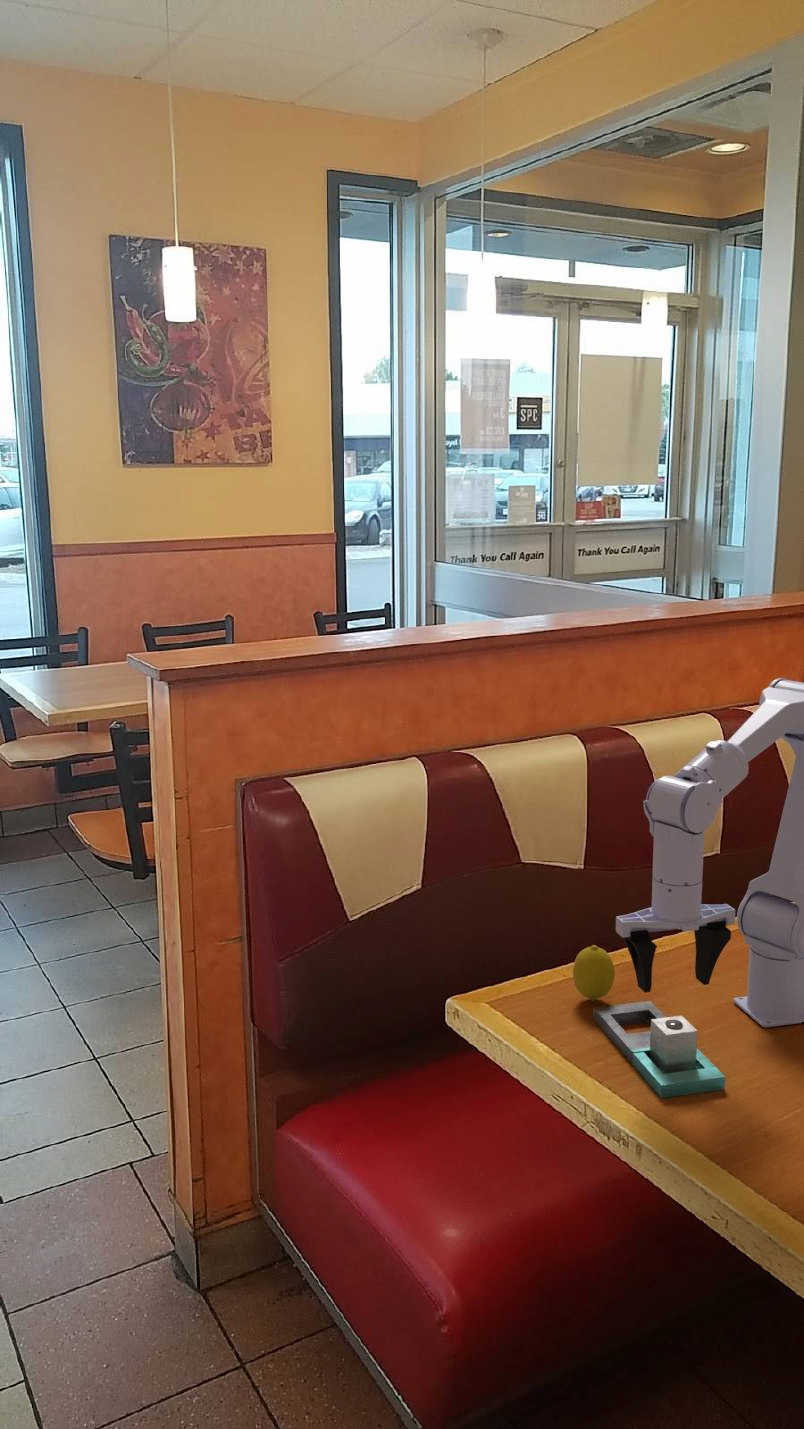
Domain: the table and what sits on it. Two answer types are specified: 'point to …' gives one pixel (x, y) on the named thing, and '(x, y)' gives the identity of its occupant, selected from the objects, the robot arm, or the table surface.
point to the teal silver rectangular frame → (639, 1052)
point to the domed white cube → (673, 1044)
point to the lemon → (593, 972)
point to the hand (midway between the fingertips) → (673, 985)
